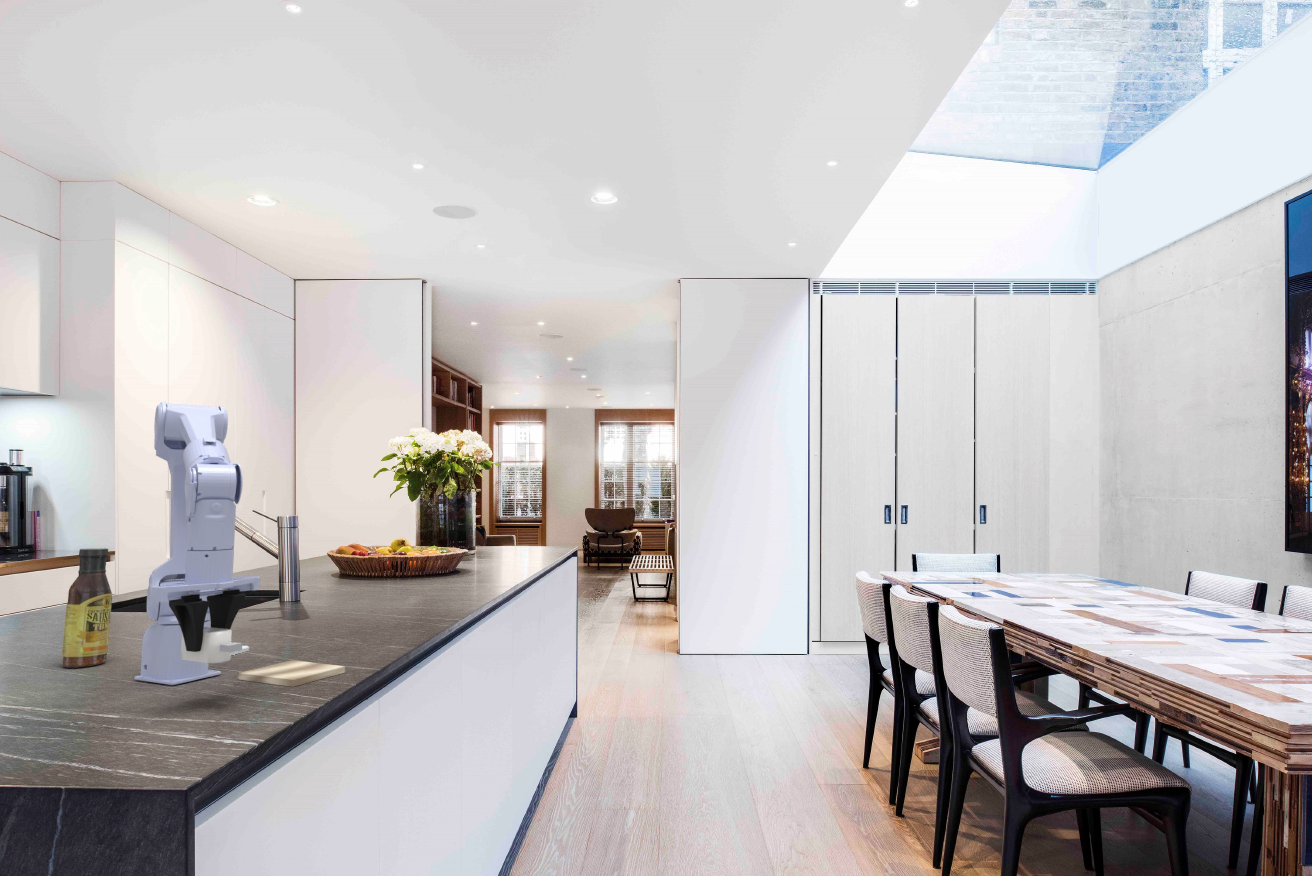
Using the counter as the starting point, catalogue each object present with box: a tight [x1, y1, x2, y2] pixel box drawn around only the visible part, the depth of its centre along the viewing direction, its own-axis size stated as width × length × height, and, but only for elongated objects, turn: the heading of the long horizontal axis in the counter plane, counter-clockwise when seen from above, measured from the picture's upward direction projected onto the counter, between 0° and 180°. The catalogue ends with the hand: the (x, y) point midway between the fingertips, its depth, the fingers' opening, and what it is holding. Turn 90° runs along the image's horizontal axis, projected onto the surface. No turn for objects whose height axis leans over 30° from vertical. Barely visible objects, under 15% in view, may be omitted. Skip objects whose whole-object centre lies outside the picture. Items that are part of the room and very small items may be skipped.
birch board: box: [237, 659, 346, 688], centre depth 118 cm, size 12×10×1 cm
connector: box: [181, 626, 243, 664], centre depth 102 cm, size 10×3×4 cm, turn 66°
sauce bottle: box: [61, 547, 113, 668], centre depth 128 cm, size 6×6×20 cm
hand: (205, 648), depth 102 cm, fingers closed on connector, 3 cm apart
